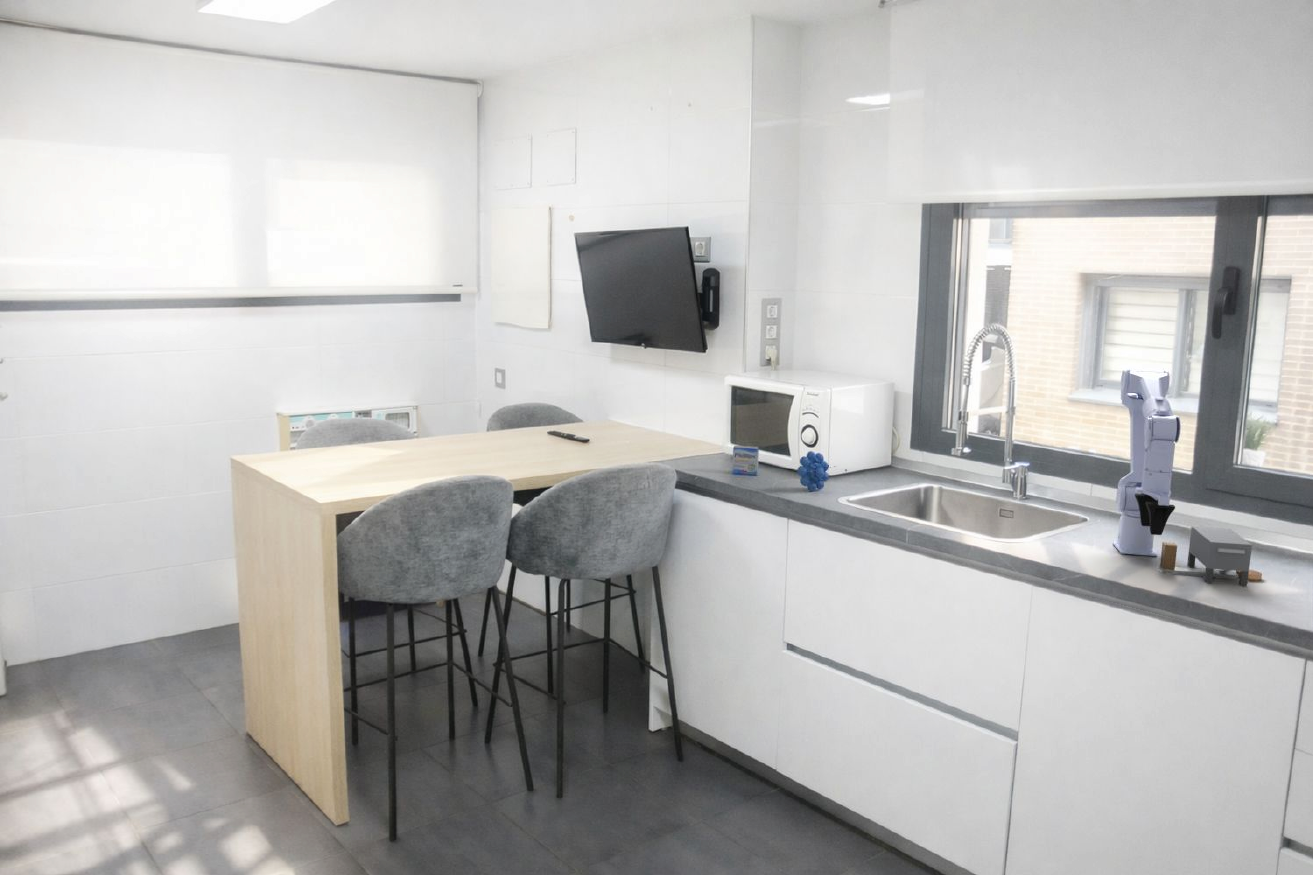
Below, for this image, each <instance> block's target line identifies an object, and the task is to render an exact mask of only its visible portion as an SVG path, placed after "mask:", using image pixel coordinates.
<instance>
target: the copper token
mask: <svg viewBox="0 0 1313 875" xmlns="http://www.w3.org/2000/svg"><path fill="white" fill-rule="evenodd" d="M1235 573H1236V574H1238V575H1239V576H1238V580H1239V579H1240V571H1235ZM1262 580H1263V573H1262V572H1261V571H1260V572H1259V571H1256V570H1253V569H1249V574H1248V581H1249V582H1260V581H1262Z"/></svg>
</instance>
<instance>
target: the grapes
mask: <svg viewBox="0 0 1313 875" xmlns="http://www.w3.org/2000/svg"><path fill="white" fill-rule="evenodd" d="M799 464H800V465H801V466H799V467H798V468H797V474H798V476H800V477H801V478H800V479H799V480H800V481H799V483H800V484H801V486H803V487H806V488H807V490H809V491H810V492H815V491H816V490H822V489H823V488H824V486H825V483H826V482H827V481H828V480H829V477H830V476H829V473H828V472H827V471H828V470H829V468H830V467H829V465H830V464H829V463H828V462H827V461H826V460H825V458H824V455H823V454H822V453H821V452H818V453H815V452H814V451H812V450H809V451H808V452H807V453H806V456H801V457H800V459H799Z"/></svg>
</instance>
